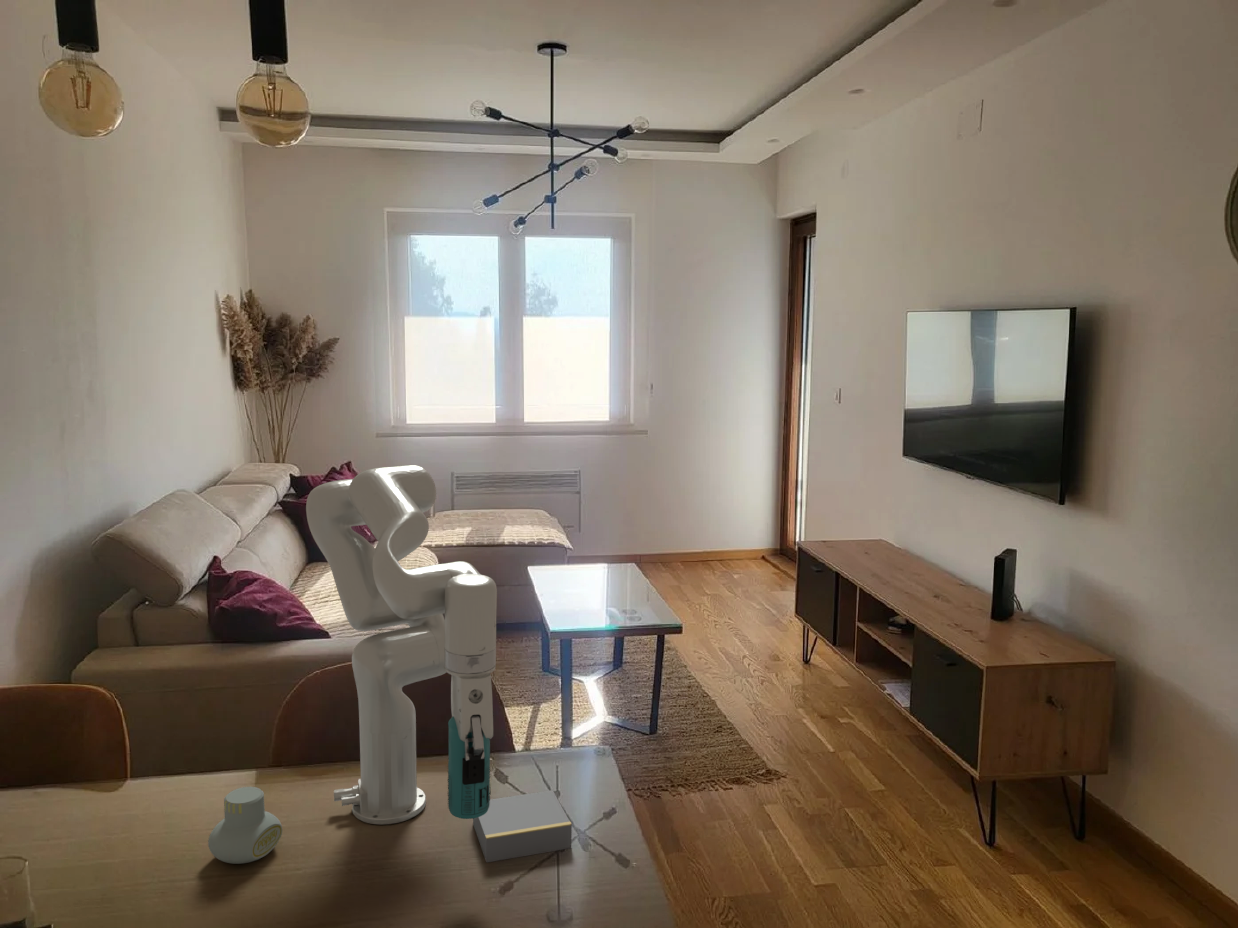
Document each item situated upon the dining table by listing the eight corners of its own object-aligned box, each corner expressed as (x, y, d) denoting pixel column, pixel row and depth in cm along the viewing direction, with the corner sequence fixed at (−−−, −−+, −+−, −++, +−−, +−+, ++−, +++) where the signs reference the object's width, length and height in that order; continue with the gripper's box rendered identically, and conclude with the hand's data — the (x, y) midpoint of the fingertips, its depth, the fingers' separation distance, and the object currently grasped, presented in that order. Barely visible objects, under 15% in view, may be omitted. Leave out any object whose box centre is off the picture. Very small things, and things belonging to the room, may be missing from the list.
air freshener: (243, 877, 140) (241, 816, 139) (200, 866, 143) (197, 806, 141) (290, 840, 150) (288, 783, 149) (249, 831, 153) (246, 774, 151)
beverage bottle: (481, 831, 136) (483, 705, 133) (439, 825, 137) (440, 699, 134) (496, 808, 142) (498, 687, 139) (455, 802, 143) (457, 682, 140)
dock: (486, 862, 145) (486, 837, 144) (473, 823, 156) (472, 800, 156) (571, 847, 150) (571, 823, 149) (552, 811, 161) (552, 788, 160)
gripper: (507, 678, 129) (505, 796, 132) (484, 636, 145) (483, 742, 148) (454, 683, 126) (453, 803, 129) (436, 640, 142) (436, 747, 145)
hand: (469, 769), depth 138 cm, fingers closed on beverage bottle, 6 cm apart
